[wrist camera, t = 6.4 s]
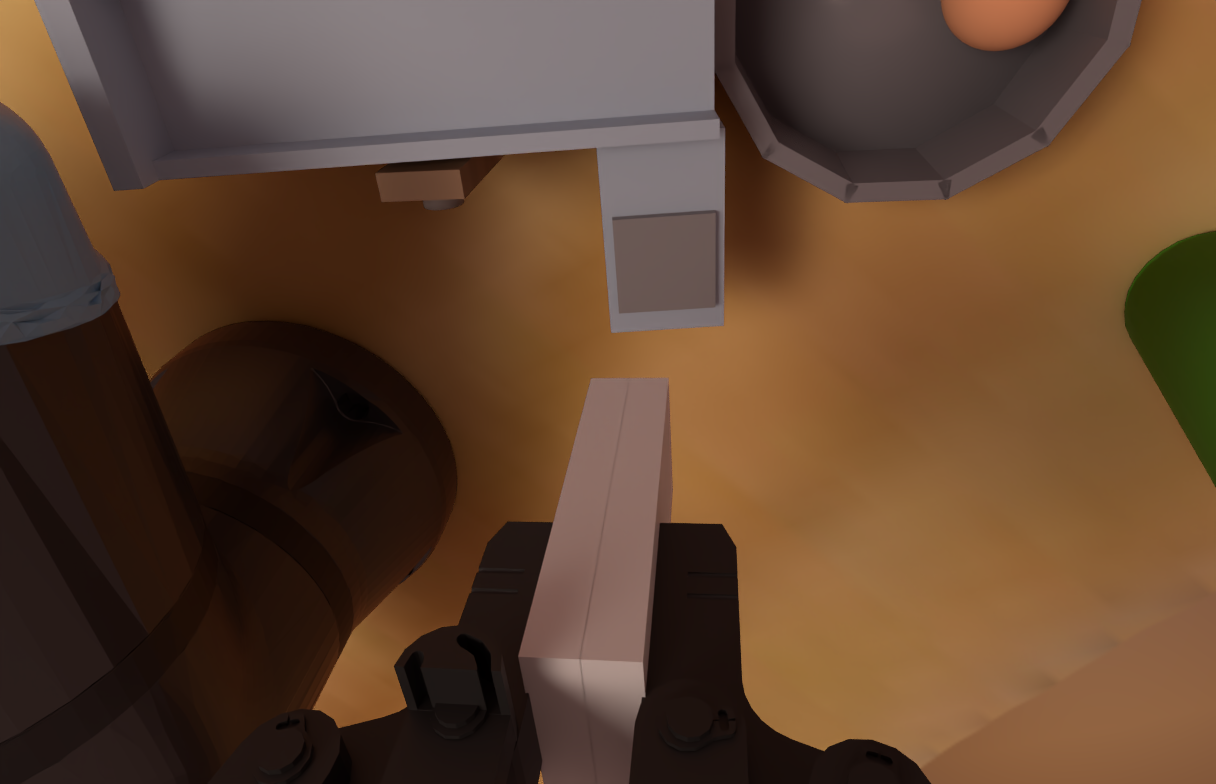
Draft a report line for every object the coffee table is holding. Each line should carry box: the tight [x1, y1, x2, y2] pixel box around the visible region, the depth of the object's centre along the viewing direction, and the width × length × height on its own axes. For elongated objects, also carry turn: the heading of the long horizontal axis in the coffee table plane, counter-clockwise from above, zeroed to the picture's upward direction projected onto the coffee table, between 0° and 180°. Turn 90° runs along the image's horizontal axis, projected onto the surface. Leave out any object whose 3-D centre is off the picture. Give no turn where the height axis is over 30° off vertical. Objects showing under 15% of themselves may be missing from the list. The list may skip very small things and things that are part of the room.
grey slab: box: [34, 0, 725, 333], centre depth 21 cm, size 16×12×3 cm
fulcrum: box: [375, 155, 504, 210], centre depth 22 cm, size 16×9×9 cm, turn 94°
